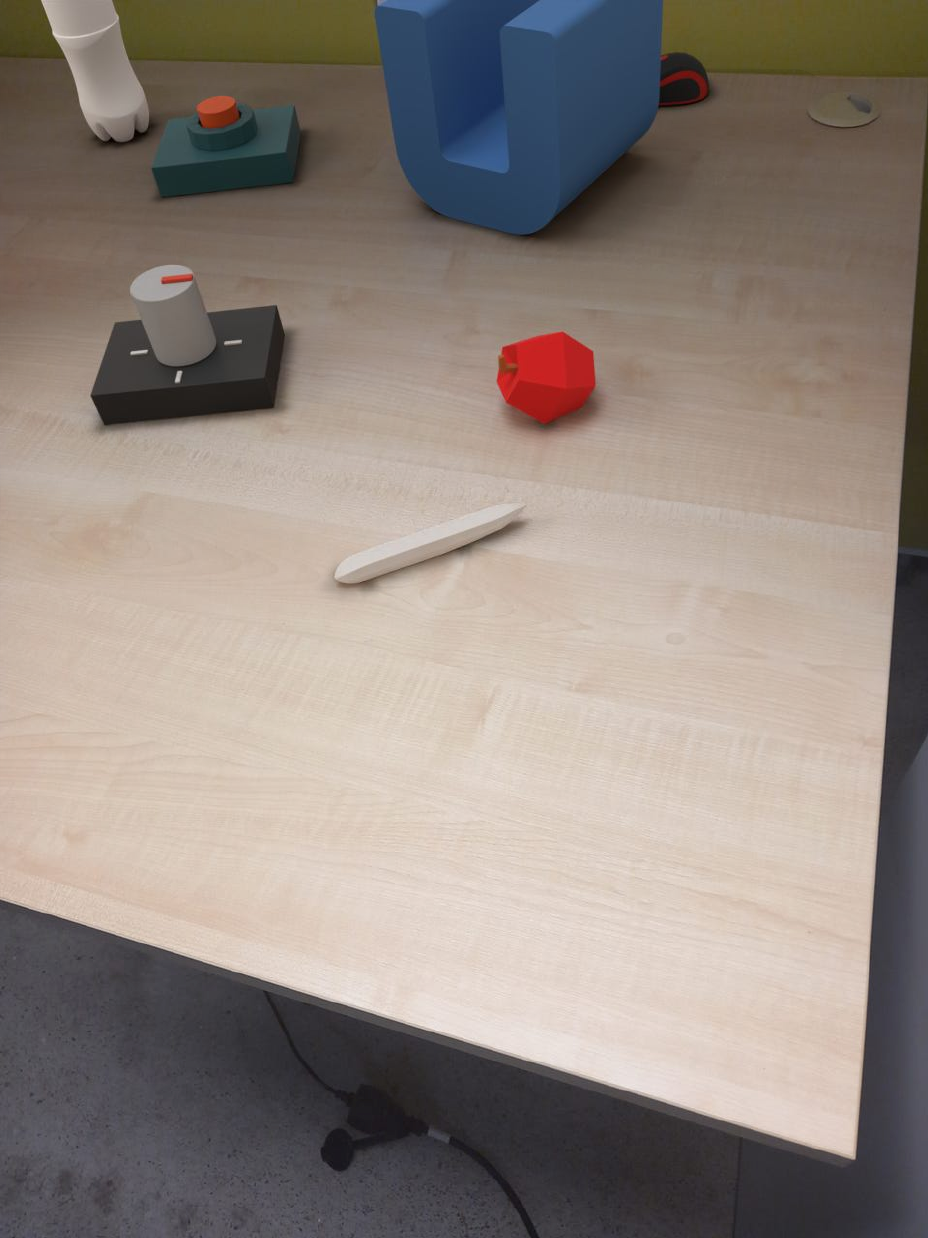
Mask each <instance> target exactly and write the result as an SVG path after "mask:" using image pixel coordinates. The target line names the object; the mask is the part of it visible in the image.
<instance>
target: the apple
mask: <svg viewBox="0 0 928 1238" xmlns="http://www.w3.org/2000/svg"><path fill="white" fill-rule="evenodd" d="M500 353H501V354H499V355H497V358H498V359H497V361H498V371H497V376H496V384H497V386H498V388H499V391H500V392H501V395H502V397H503V399H504V402H505V403H506V404H508V405H509V406H511V407H513V408H515V409H517V410H518V411H520V412H522V413H524V414H525V415H527V416H528V417H529V416H530V417H531V418H533V419H535V420H537V421H538V422H540V423H541V424H544V425H545V424H548V423H550V422H553V421H554V420H557V419H559V418H561V417H563V416H565V415H568V414H570V413H573V412H574V411H577V410H579V409H581V408H583V406H584V404H585V403H586V401H587V400H588V398H589V397H590V395H591V394H592V392H593V391H594V390H595V387H596V386H597V383H596V371H595V370H596V369H595V357H594V356H595V355H594V354H595V353H594V351H593V350H592V349H590V348H589V347H588V346H586V345H584V344H583V343H581V342H580V341H578V340H577V339H576V338H573V337H572V336H571V335H569V334H567V333H566V332H564V331H557V332H551V333H545V334H540V335H536V336H533V337H529V338H526V339H523V340H520V341H517V342H513V343H510V344H507V345H504V346H502V348H501V352H500Z"/></svg>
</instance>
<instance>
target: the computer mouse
mask: <svg viewBox="0 0 928 1238" xmlns="http://www.w3.org/2000/svg"><path fill="white" fill-rule="evenodd" d="M709 89H710V84H709V77H708V73H707V70H706V68H705V67H704V65H703V63H702V62H701V61H700V60H699V59H698V58H697V57H695V56H693V55H692V54H689V53H687V52H680V51H675V52H669V53H665V54H661V69H660V95H659V105H658V107H677V106H683V105H684V106H685V105H691V104H694V103H697V102H700V101H702V100H703V99H704V98H705V97H706V96H707V95H708V93H709Z"/></svg>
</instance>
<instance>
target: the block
mask: <svg viewBox="0 0 928 1238" xmlns="http://www.w3.org/2000/svg"><path fill="white" fill-rule="evenodd" d="M663 15H664V0H385V1H383V2H382V3H380V4H378V5H377V6H376V7H374V20H375V26H376V27H375V28H376V33H377V38H378V39H377V40H378V46H379V51H380V57H381V65H382V70H383V77H384V81H385V82H384V83H385V84H384V85H385V88H386V96H387V102H388V109H389V115H390V120H391V127H392V134H393V140H394V146H395V152H396V156H397V160H398V163H399V165H400V167H401V171H402V172H403V174H404V176H405V179H406V180H407V181H408V182H407V183H409V186H411V188H412V190H414V192H415V193H416V195H417V196H418V197H419V198H420V199H421V200H422V201H423V202H424V203H425V204H426V205H428V207H430V208H431V209H433V210H434V211H436V212H437V213H439V214H441V215H443V216H445V217H447V218H450V219H453V220H458V221H461V222H464V223H468V224H472V225H477V226H479V227H480V226H481V227H484V228H488V229H490V230H491V229H492V230H495V231H499V232H503V233H507V234H511V235H530V234H533V233H536V232H538V231H539V230H541V229H543V228H545V227H546V225H548V224H549V223H550V222H551V221H552V220H554V219H555V217H556V216H558V215H559V214H560V213H561V212H562V211H563V210H564V209H565V208H566V207H567V206H568V205H570V204H571V203H572V202H573V201H574V200H575V199H577V197H579V195H580V194H582V192H584V191H585V190H586V189H587V188H588V187H589V186H590V185H592V184H593V183H594V182H595V181H596V180H597V179H598V178H599V177H600V176H602V174H603V173H605V172H606V171H607V170H608V169H609V168H610V167H612V165H613V164H615V162H617V161H618V160H619V159H620V158H621V157H622V156H623V155H624V154H625V153H627V152H628V151H629V150H630V149H631V148H633V146H634V145H636V143H637V142H639V140H641V139H642V138H643V137H644V136H645V135H646V134H647V132H648V131H649V130H650V129H651V126H652V125H653V123H654V122H655V119H656V117H657V115H658V110H659V106H658V105H659V95H660V69H661V55H662V41H663Z"/></svg>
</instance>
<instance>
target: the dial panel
mask: <svg viewBox="0 0 928 1238" xmlns="http://www.w3.org/2000/svg"><path fill="white" fill-rule="evenodd" d="M207 314H208V317H209V320H210V323H211V326H212V329H213V332H214V335H215V338H216V346H215V348H214V350H213V351H212V353H211V354H210V355H208V356H207V357H206V358H204V359H203V360H201V361H199V362H196V363H194V364H190V365H186V366H168V365H165V364H163V363H161V362H160V361H159V360H158V359H157V358H156V355H155V353H154V350H153V348H152V345H151V343H150V340H149V338H148V335H147V333H146V330H145V328H144V325H143V323H142V320H141V319H133V320H124V321H115V322H114V324H113V327H112V330H111V333H110V335H109V339H108V342H107V345H106V348H105V350H104V354H103V356H102V359H101V362H100V366H99V368H98V371H97V374H96V377H95V380H94V383H93V386H92V388H91V392H90V398H91V400H92V403H93V405H94V406H95V408H96V412H97V413H98V416H99V417H100V419H101V421H102V423H103V425H104V426H109V425H120V424H129V423H139V422H149V421H158V420H159V421H160V420H169V419H179V418H189V417H198V416H207V415H209V416H210V415H219V414H227V413H238V412H239V413H240V412H248V411H258V410H269V409H274V408H275V406H276V405H275V404H276V399H277V398H276V396H277V390H278V384H279V377H280V371H281V365H282V357H283V351H284V344H285V338H286V333H285V330H284V326H283V323H282V318H281V315H280V312H279V309H278V305H277V304H272V305H264V306H255V307H254V306H253V307H245V308H235V309H226V310H217V311H216V310H215V311H208V312H207Z"/></svg>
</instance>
